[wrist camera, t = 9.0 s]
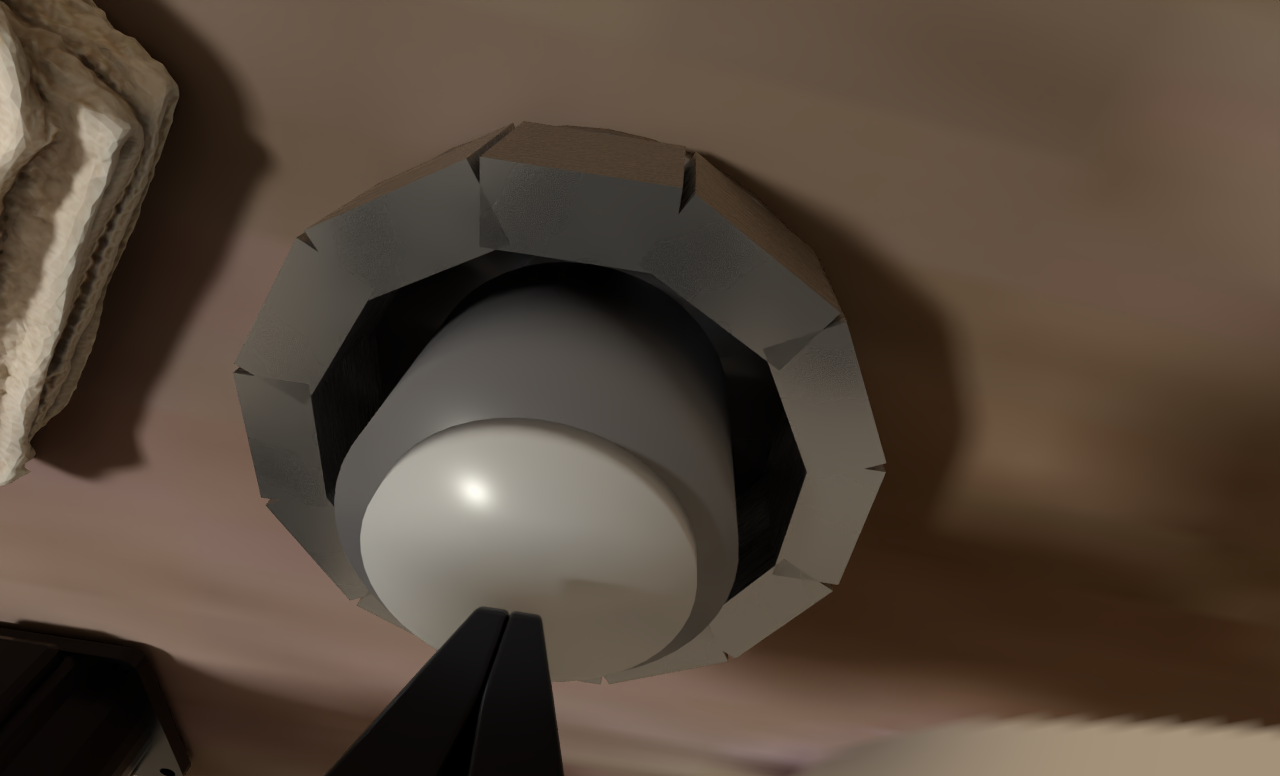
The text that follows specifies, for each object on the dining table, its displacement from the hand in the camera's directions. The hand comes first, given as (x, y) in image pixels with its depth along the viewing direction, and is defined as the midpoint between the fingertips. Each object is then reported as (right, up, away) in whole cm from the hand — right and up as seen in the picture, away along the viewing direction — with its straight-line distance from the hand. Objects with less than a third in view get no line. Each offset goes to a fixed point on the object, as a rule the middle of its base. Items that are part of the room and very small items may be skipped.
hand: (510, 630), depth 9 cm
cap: (0, +3, +5) cm, 5 cm away
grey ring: (0, +3, +5) cm, 6 cm away
